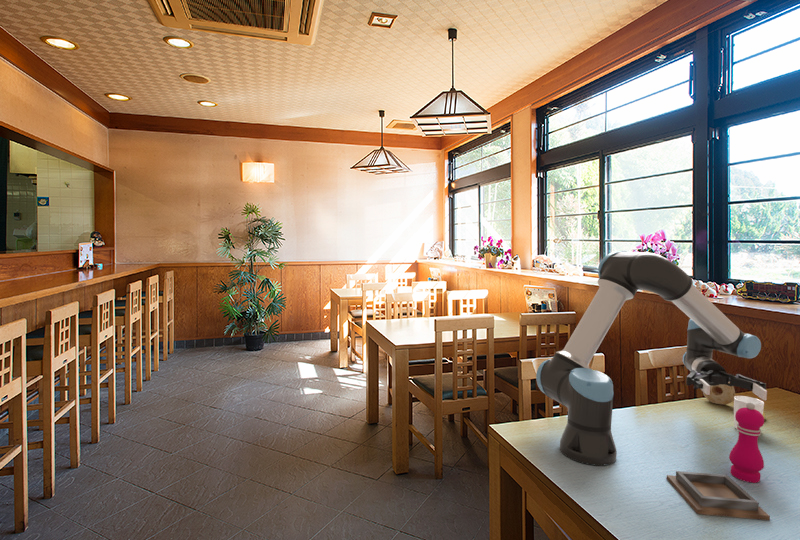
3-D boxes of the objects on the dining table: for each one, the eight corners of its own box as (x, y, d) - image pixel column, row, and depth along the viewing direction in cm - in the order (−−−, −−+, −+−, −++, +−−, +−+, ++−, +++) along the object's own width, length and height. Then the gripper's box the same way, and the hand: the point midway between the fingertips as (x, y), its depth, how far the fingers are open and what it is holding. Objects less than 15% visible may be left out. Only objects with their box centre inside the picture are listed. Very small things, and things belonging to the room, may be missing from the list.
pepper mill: (728, 466, 123) (734, 395, 121) (762, 475, 118) (768, 402, 117) (727, 477, 117) (732, 403, 116) (762, 487, 113) (768, 410, 111)
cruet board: (697, 513, 101) (698, 501, 101) (666, 478, 116) (667, 467, 116) (769, 520, 99) (770, 507, 99) (728, 483, 114) (729, 472, 114)
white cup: (767, 435, 143) (769, 405, 143) (739, 433, 145) (741, 403, 144) (753, 425, 151) (755, 396, 150) (727, 423, 153) (729, 394, 152)
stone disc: (700, 400, 174) (702, 375, 174) (703, 398, 177) (705, 373, 176) (732, 408, 166) (734, 382, 165) (735, 406, 169) (737, 380, 168)
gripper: (753, 386, 143) (788, 411, 123) (665, 378, 150) (685, 400, 130) (754, 363, 142) (790, 384, 122) (666, 356, 149) (686, 375, 129)
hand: (736, 392), depth 126 cm, fingers open, 13 cm apart
